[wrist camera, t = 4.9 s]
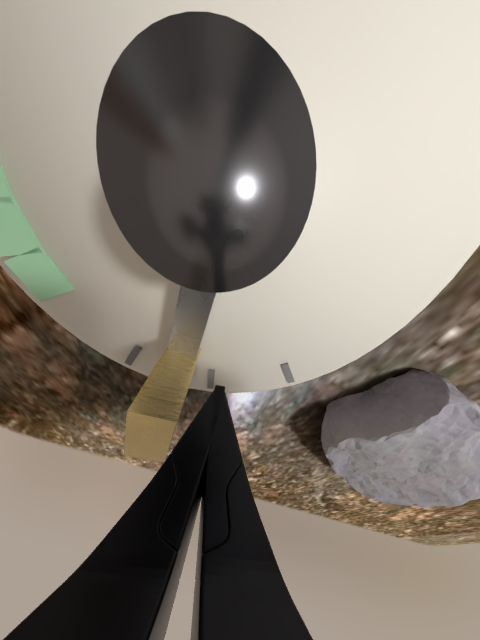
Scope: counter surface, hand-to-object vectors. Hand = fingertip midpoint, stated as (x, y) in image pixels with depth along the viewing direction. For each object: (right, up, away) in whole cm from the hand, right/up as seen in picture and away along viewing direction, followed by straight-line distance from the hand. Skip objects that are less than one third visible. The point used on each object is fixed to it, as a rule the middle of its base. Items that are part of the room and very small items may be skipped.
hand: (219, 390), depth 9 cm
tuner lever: (-1, +4, 0) cm, 4 cm away
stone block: (+13, -6, +7) cm, 16 cm away
